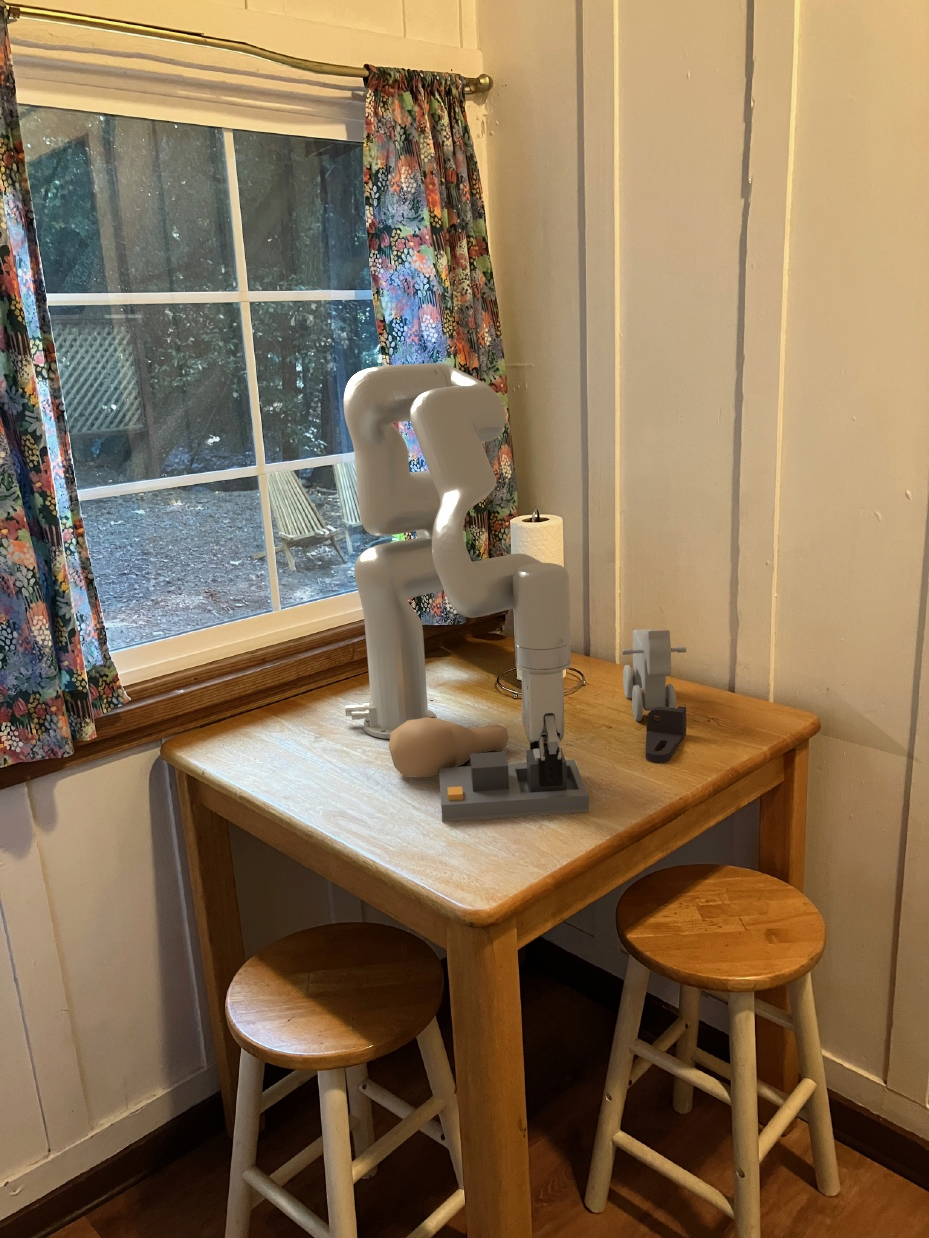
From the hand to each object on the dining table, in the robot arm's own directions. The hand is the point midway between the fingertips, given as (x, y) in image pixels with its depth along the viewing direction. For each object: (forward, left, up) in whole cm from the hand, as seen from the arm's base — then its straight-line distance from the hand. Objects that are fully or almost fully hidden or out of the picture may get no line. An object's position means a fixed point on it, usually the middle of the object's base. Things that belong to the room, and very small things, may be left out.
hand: (545, 770), depth 135 cm
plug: (0, 0, -3) cm, 3 cm away
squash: (-13, +13, -4) cm, 19 cm away
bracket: (+20, +14, -4) cm, 25 cm away
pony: (+22, +30, -4) cm, 37 cm away
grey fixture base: (-5, 0, -4) cm, 6 cm away
